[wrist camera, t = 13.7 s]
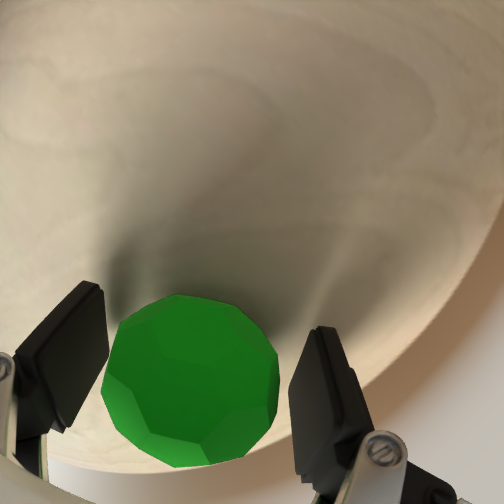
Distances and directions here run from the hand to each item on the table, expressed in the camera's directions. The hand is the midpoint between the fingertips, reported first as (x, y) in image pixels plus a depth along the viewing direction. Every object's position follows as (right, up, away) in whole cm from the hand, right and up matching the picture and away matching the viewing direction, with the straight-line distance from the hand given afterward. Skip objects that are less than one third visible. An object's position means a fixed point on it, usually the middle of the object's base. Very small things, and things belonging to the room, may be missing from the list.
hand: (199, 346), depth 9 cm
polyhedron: (0, 0, +1) cm, 1 cm away
